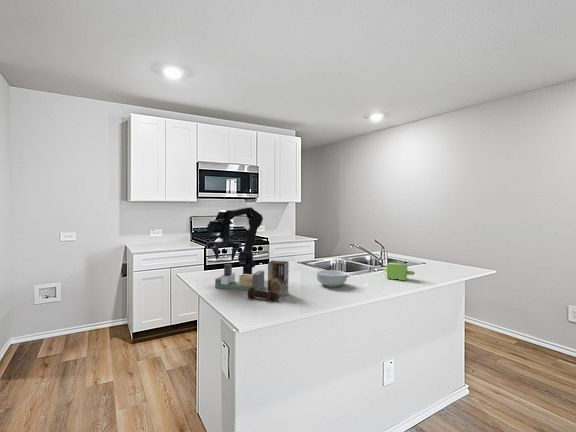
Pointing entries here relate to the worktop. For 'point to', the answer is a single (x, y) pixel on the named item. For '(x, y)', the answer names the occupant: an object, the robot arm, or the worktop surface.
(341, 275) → the cereal bowl
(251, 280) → the block
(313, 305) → the worktop surface
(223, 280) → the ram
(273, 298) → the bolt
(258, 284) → the press frame
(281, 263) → the coffee box
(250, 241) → the robot arm
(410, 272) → the gearbox
